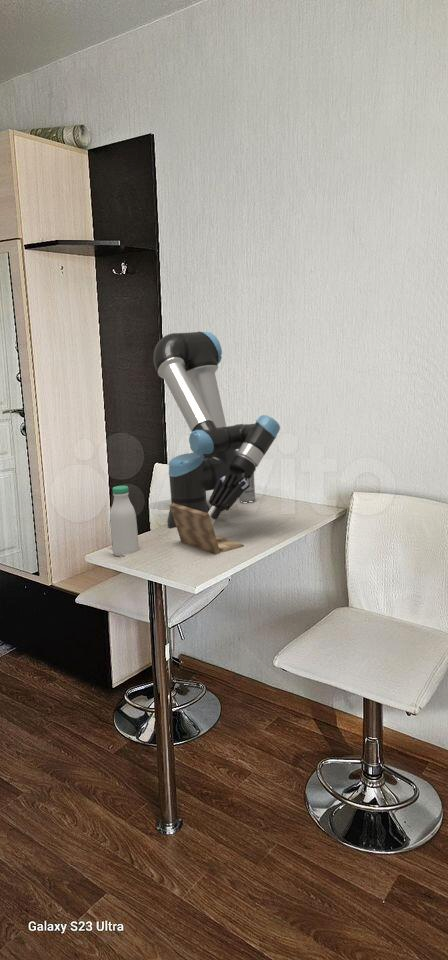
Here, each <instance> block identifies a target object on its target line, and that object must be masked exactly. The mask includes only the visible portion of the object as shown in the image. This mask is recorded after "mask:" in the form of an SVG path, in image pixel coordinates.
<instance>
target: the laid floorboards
mask: <svg viewBox="0 0 448 960" xmlns="http://www.w3.org/2000/svg"><path fill="white" fill-rule="evenodd" d="M215 536H216V539H217V543H218V546H219V549H220V554H221V553H222V554H223V553H225V552H228V551H233V550H236V549H240V548H243V547H245V544H243V543H241V542H240V543H239V542H237V541H234V540H231V539H228V538H225V537H221V536H218V535H216V534H215Z"/></svg>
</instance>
